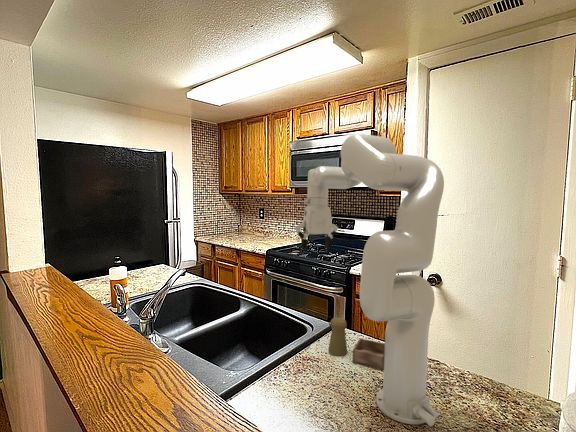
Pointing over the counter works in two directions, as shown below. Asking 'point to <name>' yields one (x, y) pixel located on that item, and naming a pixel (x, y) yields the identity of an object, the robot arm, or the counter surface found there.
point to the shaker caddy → (369, 354)
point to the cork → (338, 337)
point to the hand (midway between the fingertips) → (316, 249)
